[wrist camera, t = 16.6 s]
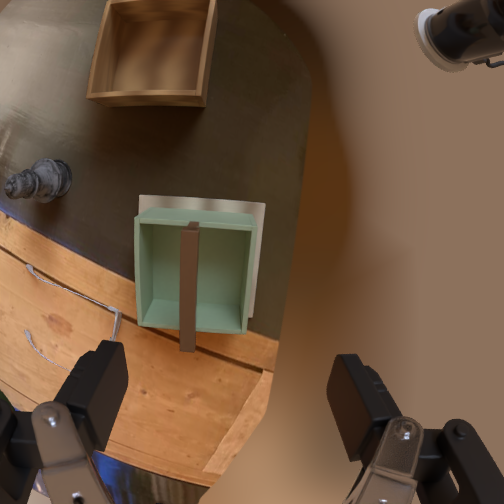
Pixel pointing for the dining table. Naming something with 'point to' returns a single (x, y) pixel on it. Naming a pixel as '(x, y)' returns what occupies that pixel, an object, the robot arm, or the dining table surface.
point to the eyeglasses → (117, 315)
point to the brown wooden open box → (153, 53)
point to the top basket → (194, 271)
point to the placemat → (214, 205)
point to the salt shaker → (40, 181)
